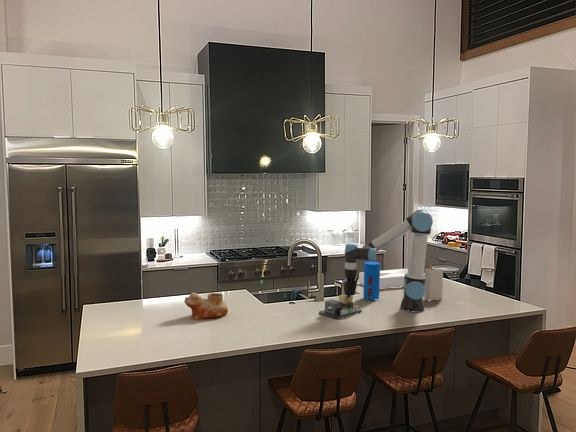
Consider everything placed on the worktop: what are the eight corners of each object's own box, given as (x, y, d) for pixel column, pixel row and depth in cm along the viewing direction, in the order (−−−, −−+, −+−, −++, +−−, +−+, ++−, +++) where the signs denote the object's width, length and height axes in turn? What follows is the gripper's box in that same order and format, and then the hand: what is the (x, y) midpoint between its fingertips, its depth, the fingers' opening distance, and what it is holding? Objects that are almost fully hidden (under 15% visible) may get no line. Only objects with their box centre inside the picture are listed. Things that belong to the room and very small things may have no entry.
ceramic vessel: (182, 315, 319) (182, 291, 318) (224, 311, 329) (224, 288, 327) (186, 322, 306) (186, 296, 305) (230, 317, 316) (230, 293, 314)
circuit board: (361, 312, 330) (362, 299, 329) (336, 319, 315) (337, 305, 314) (343, 307, 341) (344, 294, 340) (318, 313, 326) (319, 300, 325)
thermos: (362, 300, 360) (363, 263, 358) (364, 296, 371) (365, 261, 368) (378, 301, 357) (379, 265, 355) (380, 297, 367) (381, 262, 365)
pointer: (353, 310, 323) (353, 302, 323) (351, 311, 322) (351, 303, 321) (349, 309, 326) (349, 301, 325) (347, 310, 324) (347, 302, 324)
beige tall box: (442, 300, 364) (443, 264, 362) (429, 302, 359) (430, 265, 357) (434, 297, 371) (436, 262, 369) (421, 299, 366) (423, 263, 364)
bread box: (407, 280, 426) (407, 268, 425) (424, 286, 406) (425, 274, 405) (358, 284, 409) (359, 272, 408) (374, 291, 389) (374, 278, 388)
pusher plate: (356, 311, 326) (356, 298, 325) (338, 316, 315) (338, 302, 314) (341, 307, 335) (342, 294, 334) (324, 311, 324) (324, 298, 323)
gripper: (352, 266, 338) (352, 302, 341) (339, 268, 330) (338, 305, 332) (361, 268, 333) (360, 304, 335) (348, 270, 324) (347, 308, 326)
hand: (349, 305), depth 334 cm, fingers closed
